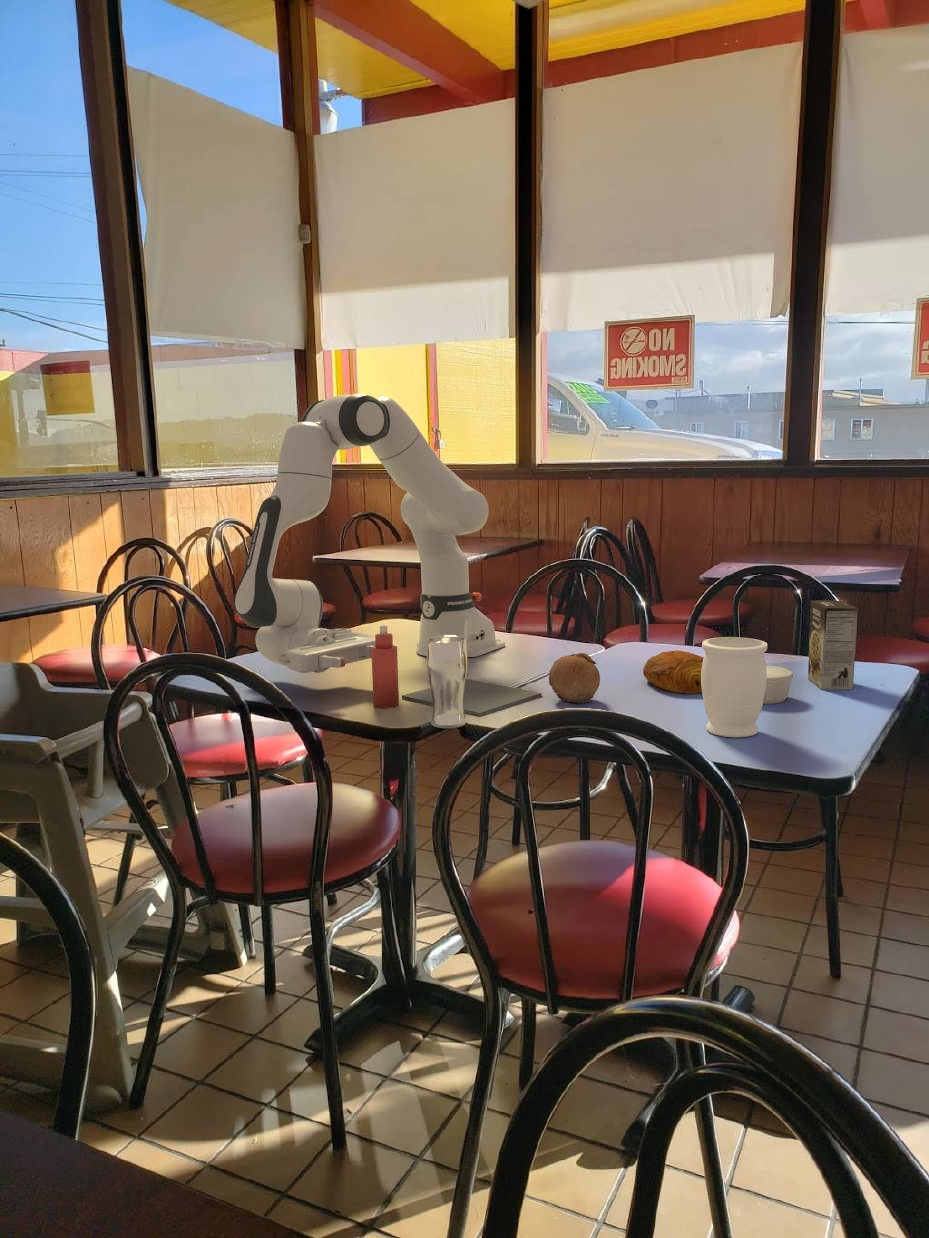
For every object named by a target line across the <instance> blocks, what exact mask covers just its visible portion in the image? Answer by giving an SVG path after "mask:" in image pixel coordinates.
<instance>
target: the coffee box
mask: <svg viewBox="0 0 929 1238" xmlns="http://www.w3.org/2000/svg"><path fill="white" fill-rule="evenodd" d="M809 611H810V615H809V636H808V637H809V641H808V661H807V662H808V665H807V666H808V667H807V668H808V669H807V680H808V681H811V683H813V684H814V685H815V686H816V687H817V688H819V689H820V690H825V691H829V690H831V691H832V690H835V691H837V690H846V691H847V690H849V691H850V690H851V691H853V690H854V677H855V676H854V675H855V660H856V659H855V658H856V644H857V627H858V625H857V624H858V608H857V607H856V606H854V605H852V604H850V603H848V602H845V601H843V600H826V599H823V600H822V599H821V600H819V599H818V600H810V609H809Z"/></svg>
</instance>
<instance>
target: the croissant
mask: <svg viewBox="0 0 929 1238" xmlns="http://www.w3.org/2000/svg"><path fill="white" fill-rule="evenodd" d="M703 658H704V656H702V655H701V656H700V655H698V654H695V653H691V652H690V651H684V650H677V649H676V650H669V651H661V652H660V653H659V654H656V655H652V656H651V657H650V658H649V659H647V660H646V662H645V665H643V669H642V674H643V676H644V678H645V679H646V681H648V682H649V683H651V684H652V685H654V686H656V687H658V688H660V689H662V690H664V691H670V692H672V693H676V694H677V693H678V694H694V695H696V694H697V693H702V687H701V670H702V663H703Z"/></svg>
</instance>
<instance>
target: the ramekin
mask: <svg viewBox="0 0 929 1238" xmlns="http://www.w3.org/2000/svg"><path fill="white" fill-rule="evenodd" d="M766 672H767V681H766V690H765V694H764V698H763V705H768V704H769V705H771V704H779V703H782V702H785V701H786V699H788V696H789V692H790V687H791V684H792V683H791V682H792V680H793V678H794V673H793V671H791V670H789V669H788V668H785V667H783V666H782V667H781V666H776V665H767V664H766Z"/></svg>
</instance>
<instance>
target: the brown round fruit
mask: <svg viewBox="0 0 929 1238" xmlns="http://www.w3.org/2000/svg"><path fill="white" fill-rule="evenodd" d="M597 664H598V663H597V662H596V661H595V660H594V659H593V658H592V657H591V656H590V655H589V654H587V653H585V652H579V653H573V654H570V655H569V654H568V655H564V656H561V657H559V658H558V659H556V660H555V661H554V662H553V664H552V665H551V668H550V669H549V675H548V684H549V687H550V686H551V689H552V692H554V693H555V695H556V696H557V698H558V699H560V700H561V701H563V702H564V703H565V702H566V703H567V702H568V703H571V702H574V703H575V702H581V703H583V702H586V703H587V701H590V700H591V699H593V698H594V697H595V694H596V693H597V691H598V689H599V687H600V683H601V674H600V671H599V669H598V667H597V666H596V665H597ZM575 704H576V703H575Z"/></svg>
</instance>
